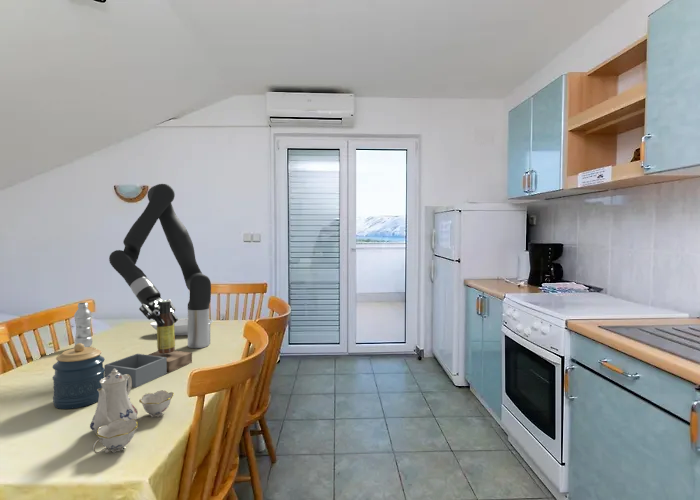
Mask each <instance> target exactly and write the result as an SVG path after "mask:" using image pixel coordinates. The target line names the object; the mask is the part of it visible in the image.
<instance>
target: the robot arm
mask: <svg viewBox="0 0 700 500" xmlns="http://www.w3.org/2000/svg"><path fill="white" fill-rule="evenodd" d="M175 195H176V194H175V190H174V189H173V187H172V186H170V185H169V184H167V183H158V184H156V185H153V186H151V187H150V188H149V189H148V191H147V200H148V203H147V206H146V207H145V209H143V211H142V213H141V215H140V216H139V217H138V218H137V219H136V221H135V222H134V223H133V224H132V226H131V227H130V228H129V230H128V232H127V234H126V235H125V237H124V239H123V243H122V244H123V245H124V249H123V250H121V249H118V250H117V249H116V250H114V251H112V252H111V253H110V254H109V259H108V261H109V264H110V265H111V267H112V268H113V269H114V270H115V271H116V272H117V273H118V274H119V275H120V276H121V277H122V278H123V280H124V281H125V282H126V283H127V285H128V287H129V288H130V290H131V292H132V293H133V295H134V296H135V297H136V299H137V300H138V301H139V303H141V306H139V309H138V310H139V311H140V312H141V313H142V314H143V315H144V316H145V317H146V319H148V320H153V321H154V322H156V323H157V324H158V325H159V326H160V327H162V326H163V325H164V324H165V322H164V321H163V319H162V318H161V317H160V316H159V314H160V306H159V302H160V301H166V300H169V301H171V305H170V310H171V314H172V316H173V319H174V323H176V322H177V320H178V319H179V318H178V316H176V313H175V312H176V310H177V309H176V307H175V305H174V303H173V302H172V300H171V299H170V298H167V299H166V300H164V299H163V298H162V297H161V294H162V293H160V291H159V289H157V287H156V286H155V285H154V283H153V282H152V281H151V280H150V278H149V277H147V275H146V274H145V273H144V271H143V270H142V269H141V268H139V267H138V266H137V265H136V264H137V262H138V260H139V256H140V253H141V250H142V247H143V246H144V243H145V242H146V240H147V239H148V236H149V235H150V233H151V231H152V230H153V228H154V226H155V225H156V223H157V222H158V221H160V225H161V227H162V230H163V232H164V235H165V237H166V240H167V244H168V245H169V247H170V250H171V252H172V254H173V255H174V258H175V259H176V262H177V264H178V265H179V268H180V270H181V272H182V277H183V279H184V283H185V286H186V288H187V290H189V300H188V303H187V319H188V335H187V347H188V348H190V349H201V348H206V347H208V346H210V344H211V324H210V323H209V319H210V304H211V300H212V299H211V296H212V283H211V279H210V277H209V276H207V275H206V274H204V273H203V272H202V271H201V269H200V267H199V264H198V263H197V260H196V259H197V258H196V254H195V247H194V244H193V240H192V238H191V236H190V233H189V231H188V229H187V228H186V227H185V225H184V224H183V222H182V221H181V220H180V218H179V217H178V216H177V214H176V212H175V209H174V207H173V204H172V202H173V201H174V199H175Z"/></svg>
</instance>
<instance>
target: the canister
mask: <svg viewBox="0 0 700 500" xmlns="http://www.w3.org/2000/svg"><path fill="white" fill-rule="evenodd" d="M55 359H56V362H55V363H53V365H52V369H53V370H54V374H53V376H52V380H53V396H52V402H53V405H54V407H55V408H57V409H59V410H60V409H61V410H73V409H78V408H84V407H87V406H90V405H93V404H96V403H98V399H99V392H98V390H97V389H99V388H102V386H101V383H100V380H101V379H103V378H105V369H104V365H103V363H104V362H105V357H104V356H102V350H100V349H97V348H95V347H92V346H90V347H84V344H82V343H78V344H76V345H75V344H74V346H73V348H70V349H67V350H64V351H63V352H62V353H60V354H59V355H57V356H56V357H55Z"/></svg>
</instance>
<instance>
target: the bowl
mask: <svg viewBox="0 0 700 500" xmlns="http://www.w3.org/2000/svg"><path fill="white" fill-rule="evenodd" d="M209 323H210V325H212V323H214V320H213V319H210V318H209ZM149 324H150V326H151V327H152V328H153V329H155V330H156V331H157V323H156V321H153V322H150V323H149ZM174 328H175V336H188V318H178V320H177V322H176V323H174Z"/></svg>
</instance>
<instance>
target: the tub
mask: <svg viewBox="0 0 700 500" xmlns="http://www.w3.org/2000/svg"><path fill="white" fill-rule="evenodd" d="M103 368H104V369H105V371H104V378H105V377H107V376H108V375H109V374H111V371H113V369H114V368H115V369H116V370H117V371H118V372H119V373H121V374H122V375H125V374H128V375H130V376H131V379H132V387H131V388H138V387H140V386H142V385H145V384H147V383H149V382H151V381H153V380H157V379H158V378H160V377H162V376H164V375H167V373H168V372H167V357H159V356H152V355H148V354H144V353H135V354H132V355H129V356H126V357H124V358H120V359H117V360H116V361H112V362H110V363H107V364H104V365H103ZM126 387H128V380H127V385H126Z"/></svg>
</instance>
